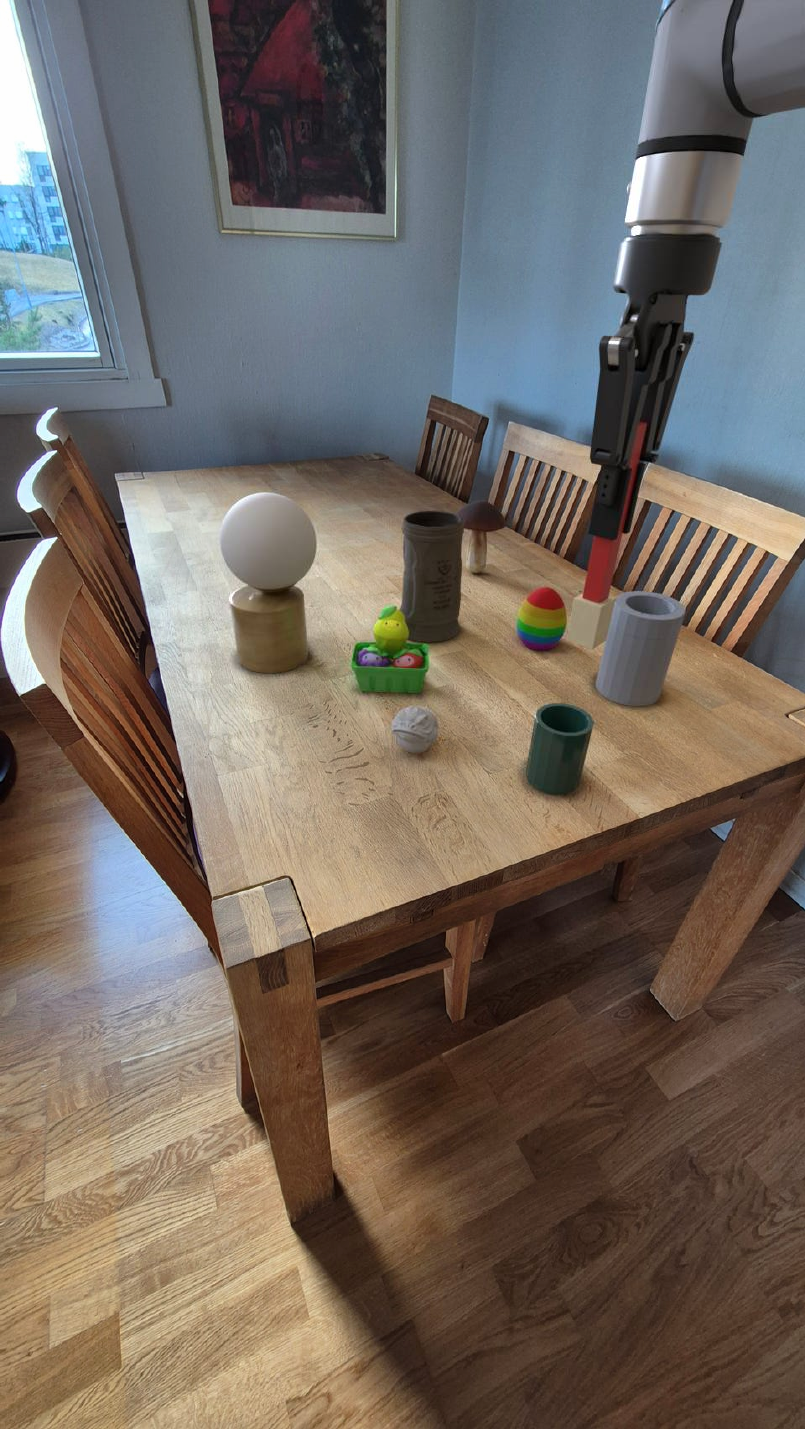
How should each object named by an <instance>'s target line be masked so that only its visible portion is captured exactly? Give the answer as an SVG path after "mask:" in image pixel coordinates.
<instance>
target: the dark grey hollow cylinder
mask: <svg viewBox="0 0 805 1429" xmlns="http://www.w3.org/2000/svg"><path fill="white" fill-rule="evenodd" d="M464 532H465V528H464V527H463V520H462V518H461V517H460V516H458V515H456V513H453V512H448V511H442V510H420V511H414V512H411V513H408V514H407V513H406V515H405V516H404V517H403V519H402V526H401V533H402V534H403V539H402V557H403V566H404V567H403V568H404V570H403V573H402V577H403V578H402V593H401V596H402V597H401V604H400V607H399V610H400V611H401V612H402V613H403V614H404V616H405V623H406V625H407V627H408V631H409V636H408V639H410V640H413V641H416V642H420V643H421V642H422V643H439V642H440V643H441V642H443V641H447V640H450V639H452V638H453V637H455V636H456V635H457V634H458V633H459V630H460V625H459V624H460V623H459V617H460V609H461V601H462V592H461V591H462V577H463V576H462V575H463V559H462V558H463V557H462V549H463V548H462V547H463V546H462V545H463V537H464Z"/></svg>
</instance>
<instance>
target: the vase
mask: <svg viewBox="0 0 805 1429" xmlns="http://www.w3.org/2000/svg"><path fill="white" fill-rule="evenodd" d="M615 598H616V600H615V605H614V609H613V613H612V618H611V622H610V626H609V631H608V635H607V639H606V641H604V645H603V649H602V653H601V657H600V662H599V667H598V671H597V675H596V679H595V688H596V690H597V691H598V693H600V695H602V696H603V697H604V698H606V699H607V700H609V701H611V702H614V703H616V704H620V705H623V706H628V707H629V706H630V707H646V706H650V705H653V704H655V703H656V702H657V701H658V700H659V699H660V696H661V694H662V691H663V688H664V684H665V680H666V678H667V674H668V672H669V668H670V664H671V661H672V657H673V654H674V651H675V648H676V644H677V641H678V638H679V634H680V632H681V628H682V625H683V621H684V618H685V615H686V610H687V609H686V607H685V606H684V604H683V603H681V602H680V601H679V600H677V599H675V598H673V597H671V596H668V595H665V594H662V593H658V592H652V591H645V590H643V591H642V590H633V591H625V592H622V593H620V594H618V595H616V596H615Z"/></svg>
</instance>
